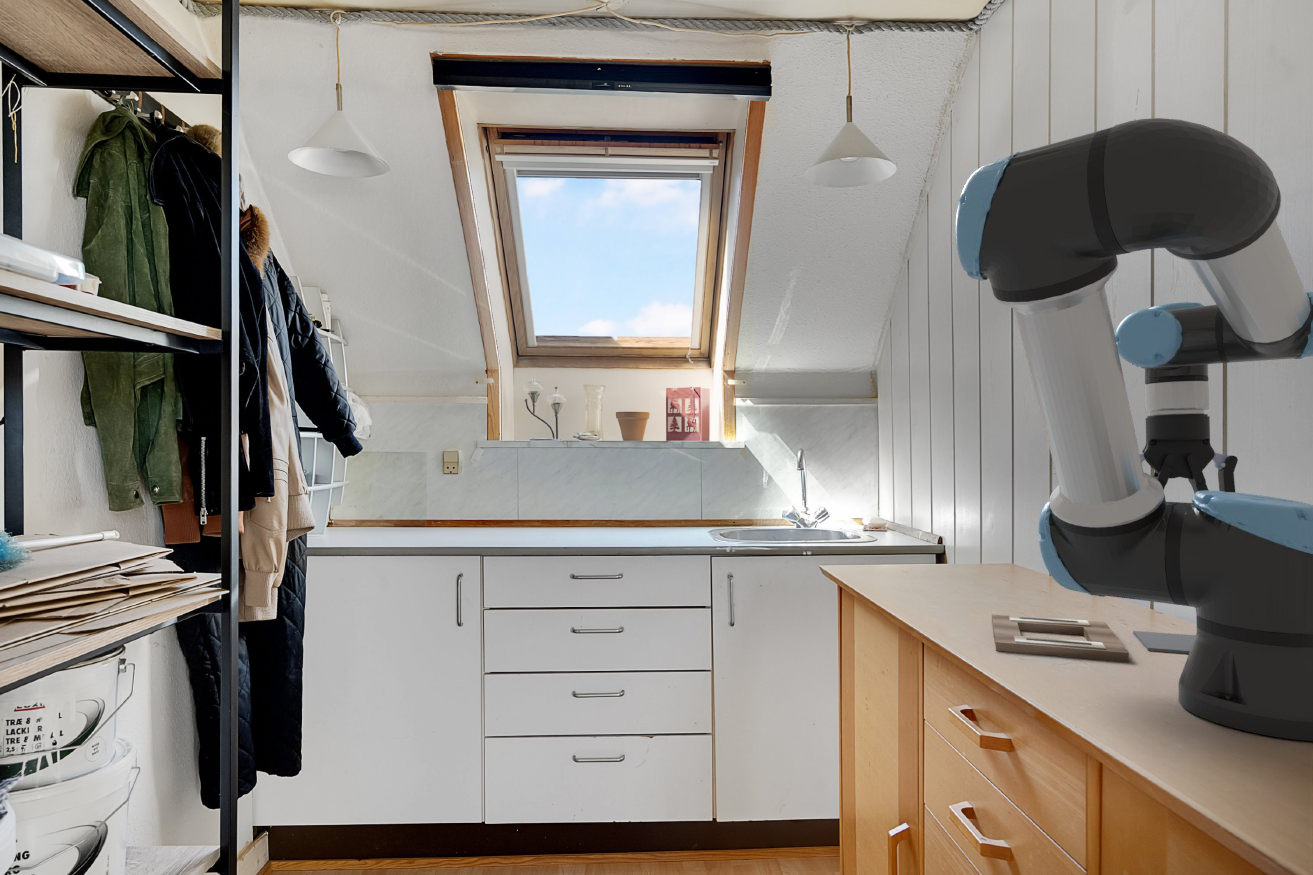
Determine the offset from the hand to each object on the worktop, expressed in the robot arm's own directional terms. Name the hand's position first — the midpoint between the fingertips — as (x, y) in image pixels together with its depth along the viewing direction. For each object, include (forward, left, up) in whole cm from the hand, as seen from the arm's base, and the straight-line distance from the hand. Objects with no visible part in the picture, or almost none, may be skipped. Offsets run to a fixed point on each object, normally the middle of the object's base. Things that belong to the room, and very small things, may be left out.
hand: (1180, 574), depth 107 cm
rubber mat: (0, 0, -10) cm, 10 cm away
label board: (-3, +17, -10) cm, 20 cm away
